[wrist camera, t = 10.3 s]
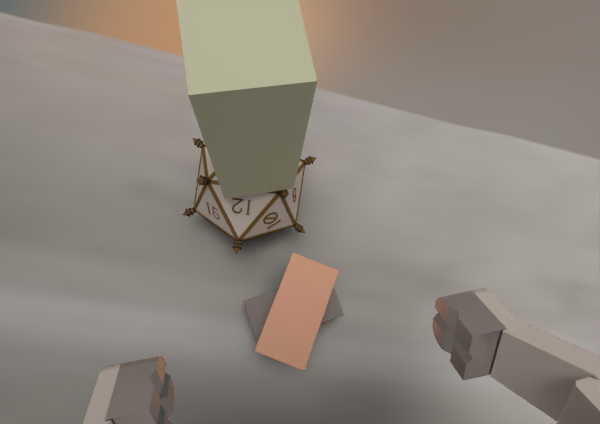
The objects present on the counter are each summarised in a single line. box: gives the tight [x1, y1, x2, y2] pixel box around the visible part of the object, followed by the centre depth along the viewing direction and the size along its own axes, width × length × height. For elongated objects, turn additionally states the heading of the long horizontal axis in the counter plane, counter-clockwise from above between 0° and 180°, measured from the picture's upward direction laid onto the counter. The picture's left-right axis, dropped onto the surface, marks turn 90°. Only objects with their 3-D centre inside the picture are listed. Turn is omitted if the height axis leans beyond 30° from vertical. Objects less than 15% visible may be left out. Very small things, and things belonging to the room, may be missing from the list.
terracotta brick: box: [255, 253, 339, 371], centre depth 23 cm, size 6×3×3 cm, turn 159°
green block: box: [177, 0, 317, 199], centre depth 17 cm, size 4×4×10 cm
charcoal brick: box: [244, 287, 344, 344], centre depth 26 cm, size 6×3×3 cm, turn 109°
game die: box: [183, 138, 316, 254], centre depth 25 cm, size 9×8×10 cm
